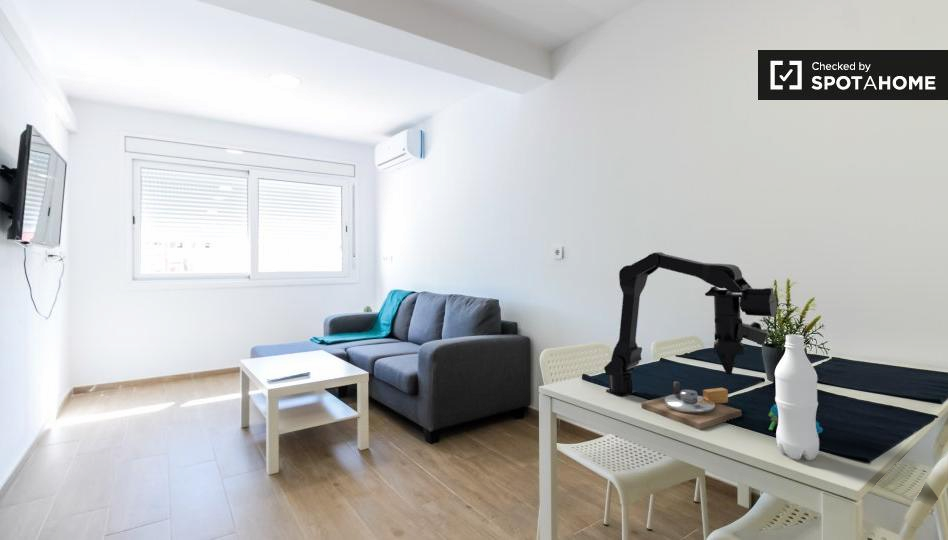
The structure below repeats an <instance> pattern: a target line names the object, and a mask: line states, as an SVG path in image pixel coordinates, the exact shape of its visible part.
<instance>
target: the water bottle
mask: <svg viewBox="0 0 948 540" xmlns="http://www.w3.org/2000/svg"><path fill="white" fill-rule="evenodd" d="M804 342H805V340H804V335H801V334H791V333H790V334H786V335H785V342H784V344H783V346H784V347H785V351H784V354H783V356H781V359H780V360H779V362H778V363H777V365H776V366H775V367H776V368H775V370H774V377H775V378H774V379H775V397H774V400H775V404H776V405H777V408H778V416H779V418H778V424H777V427H776V433H775V436H776V437H775V438H776V440H775V441H776V445H777V448H778V450H779V451H780V453H782V454H783V455H787V457H789V458H790V459H792V460H796V461H797V460H800V459H801V458H802V456H803V457H804V459H805V460H806V461H813V460H815V458H816V457H817V456H818V454H819V450H820V438H819V435H818V434H817V430H816V421H817V420H816V419H817V416H816V415H817V410H818V406H819V401H818V374H817V372H816V371H817V370H815V367H814V366H813V364H812V363H811V361H810V360H809V358H808V357H807V354H806V352H805V349H806V347H807V346H805V343H804Z"/></svg>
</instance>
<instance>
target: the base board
mask: <svg viewBox="0 0 948 540" xmlns="http://www.w3.org/2000/svg"><path fill="white" fill-rule="evenodd" d="M680 386H681V383H680V381H676V380H675V381H673V394H672V395H674V394H681V387H680ZM670 395H671V394H669V395H665V396H662V397H658V398H654V399H650V400H646V401H642V402H641V403H640V404H641V409H643V410H646V411H648V412H652V413H654V414H656V415H660V416H662V417H664V418H668V419H670V420H673V421H675V422H679V423H681V424H683V425H686V426H689V427H691V428H694V429H697V430H702V429H706V428H709V427H712V426H715V425H719V424H721V423H722V424H723V423H724V422H727V420H728V421H730V420H729V419H731V420H734V419H737V418H740V417H742V410H741V409H739V408H735V407H731V406H730V405H729V406H728V405H725V404H723V403H718V404H715V409H714V411H712V412H709V413H703V414H691V413H683V412H679V411H675V410H672V409H670V408H668V407H667V406H666V405H665V398H666V397H667V396H670ZM733 418H734V419H733Z"/></svg>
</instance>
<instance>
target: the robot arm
mask: <svg viewBox="0 0 948 540" xmlns="http://www.w3.org/2000/svg"><path fill="white" fill-rule="evenodd" d="M659 268H661V269H664V270H668V271H673V272H676V273H680V274H683V275H687V276H692V277H695V278H698V279H700V280H702V281H703V282H705V283H706V284H709V285H711V287H710V289H709V290H708V291H706V292H705V293H704V296H706V297H713V305H714V306H713V307H714V308H713V309H714V343H713V353H715V354H716V355H717V357H718V359H719V361H720V363H721V365H722V367H723V369H724V372H725V374H726V375H727V376H728V375H729V376H732V373H733V370H734V365H735V359H736V357H737V356H738V355H741V356H742V355H745V347H744V343H743V342H742V341H743V340H744V339H745V340H748V341H750V342H753V343H756V344H757V345H759V346H764V345H765V342H766V340H767V338H768V335H769V332H768V331H767V330H766V329H764V328H763V329H762V325H761V323H759V322H756V321H753V322H751V323H750V324H749V323H743V318H742V317H741V313H745V315H747V316H756V317H757V316H759V317H771V318H772V317H773V318H774V317H776V314H777V310H778V301H777V299H776V295H775V293H774V288H773V287H765V288H754V287H753V288H752V286H751V285H750V284H749V283H748V282H747V280H746V279H745V278H744V277H743V273H742V270H741V269H740V268H739V266H737V265H734V264H730V263H729V264H728V263H710V262H709V263H708V262H705V263H704V262H702V261H697V260H693V259H688V258H683V257H679V256H676V255H670V254H665V252H661V251H660V252H659V251H658V252H651V253H649V254H648V255H647V256H645V257H644V258H642V259H640V260H638V261H635V262H634V263H632V264H630V265H625V266H622V268H620V270H619V272H618V280H619V281H618V282H619V287H620V290H621V292H622V303H621V304H622V305H621V315H620V316H621V317H620V325H619V326H620V328H619V336H618V341H617V342H616V345H615V346H614V348H613V351H612V355H611V359H610V361H609V362H608V363H607V364H606V365H605V366H603V367H604V368H603V369H604V372H605V375H606V376H607V375H608V377H609V380H608V381H609V383H608V384H609V388H608V389H607V388H606V389H605V392H606V393H609V394H612V395H615V396H617V397H624V396H628V395H632V394H636V393H637V392H636V390H633V379H632V373H631V372H634V370H635V368H636V367H637V366H638V365H639V363H640V361H642V360H643V359H642V352H643V347H641V346H638V344H637V329H638V320H639V309H640V298H641V294H642V292H643V291H644V289H645V286H646V283H647V281H648V276H650V275H651V274H653V273H655V272H656V271H657V270H658V269H659Z"/></svg>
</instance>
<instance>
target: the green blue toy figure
mask: <svg viewBox="0 0 948 540" xmlns="http://www.w3.org/2000/svg"><path fill="white" fill-rule="evenodd" d="M767 416H768V417H770V421H771V423H770V425H769V428H768V430H769V431H770V430H771V432H772V431H773V430H774V428H775V427H776V425H778V418H779V416H778V408H777V404H776V403H774V404H773V406H771V408H770V412H769V413H768V415H767ZM816 430H817V434H818V436H819V434H820V433H821V434H822V432H823V431H824V429H823V427H822V426H820V423H819V422H818V421H817V420H816Z"/></svg>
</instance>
